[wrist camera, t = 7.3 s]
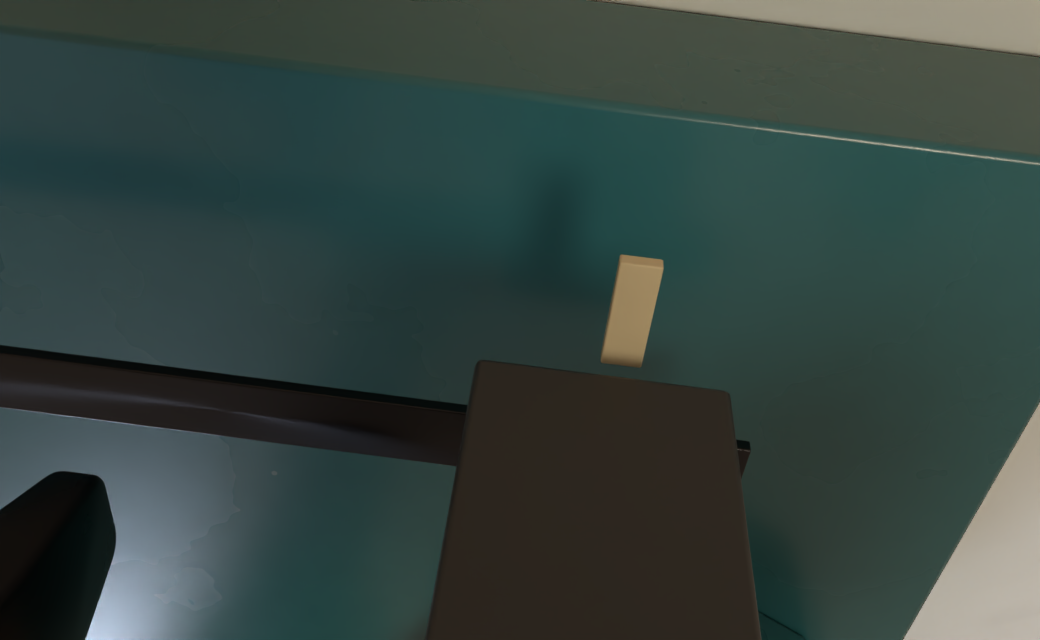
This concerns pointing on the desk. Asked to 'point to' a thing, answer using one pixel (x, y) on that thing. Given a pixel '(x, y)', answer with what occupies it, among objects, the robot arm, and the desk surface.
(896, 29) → the desk surface
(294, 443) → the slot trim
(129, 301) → the teal button platform
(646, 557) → the slider
